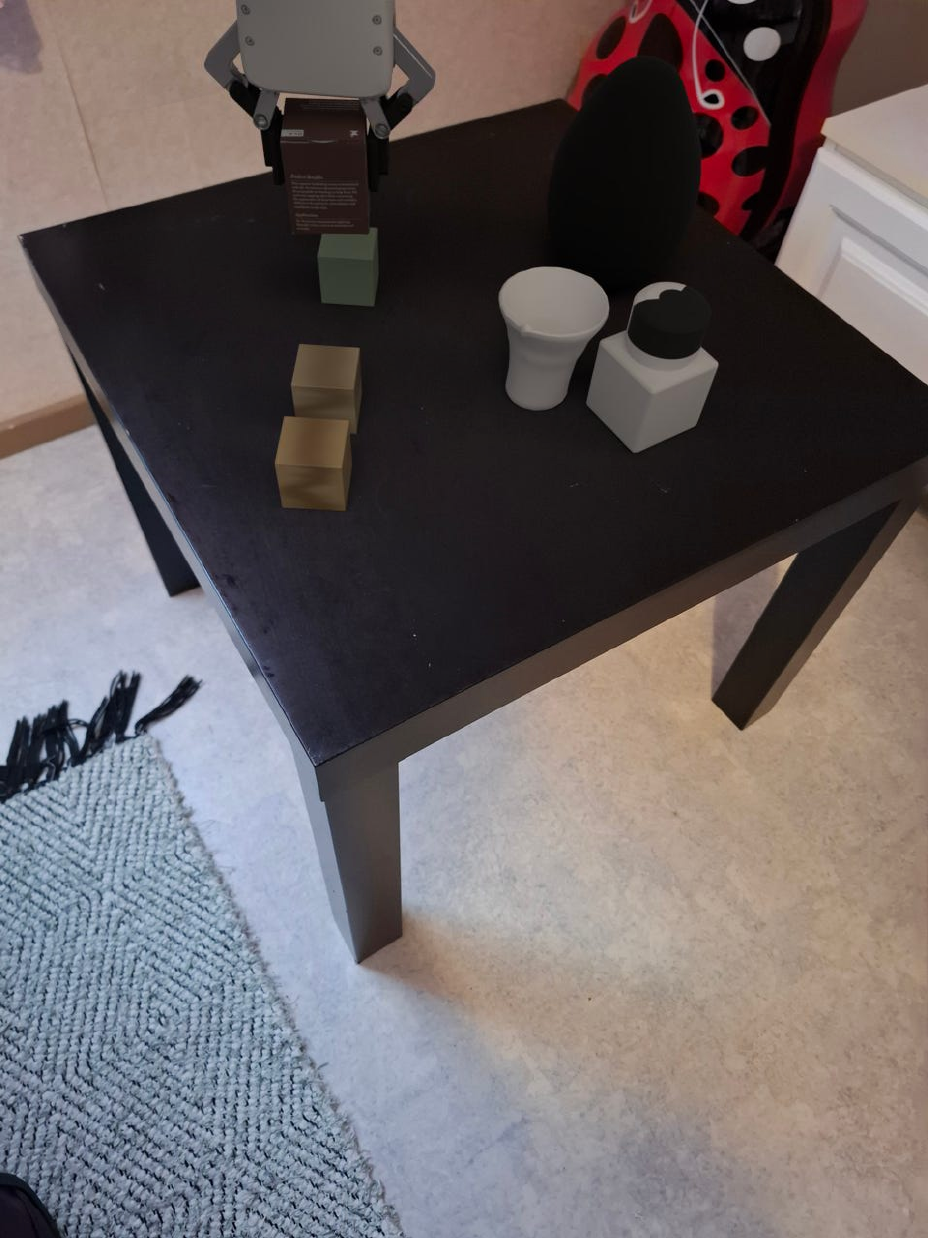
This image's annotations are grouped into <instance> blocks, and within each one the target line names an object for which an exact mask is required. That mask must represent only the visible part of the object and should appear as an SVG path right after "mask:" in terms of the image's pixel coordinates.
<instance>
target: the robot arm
mask: <svg viewBox="0 0 928 1238" xmlns="http://www.w3.org/2000/svg"><path fill="white" fill-rule="evenodd" d="M396 7H397V6H396V0H235V9H236V10H235V11H236V20H235V21H234V22H233V23H232V24H231V26H230V27H228V29H227V30H226V31H225V33H223V35H221V37H220V38H219V39H218V40H217V42H216V43H215V44H214V45H213V46H212V47H211V48H210V49H209V51H208V52H207V54H206V57H205V58H204V62H203V68H204V70H205V71H206V72H207V73H208V74H209V75H210V77H212V78H213V80H214V81H216V82H217V83H218V84H219V85H220V86H221V87H222V89H224V90H226V91H227V92H228V93H229V96H230V99H232V100H233V102H235V103H236V104H237V105H238V106H239V108H241V109H242V110H243V111H244V112H245V113H246V114H247V115H248V116H249V117H250V118H251V119H252V123H253V125H254V127H255V128H256V129H258V130H259V133H260V138H261V140H260V141H261V148H262V155H263V162H264V166H265V167H266V168H271V170H272V178H273V179H272V180H273V185H274V186H282V185H283V184H285V177H284V169H283V163H282V155H281V149H280V137H281V131H282V122H283V114H284V113H283V112H282V109H280V107H279V106H278V105H277V104H278V102H279V98H280V95H281V94H293V95H305V96H318V97H330V98H331V97H332V98H342V99H357V100H359V101H360V103H361V105H362V107H363V110H364V112H365V114H366V116H367V122H368V123H369V125H368V130H367V133H368V136H367V163H368V186H369V190H370V193H379V189H380V183H381V176H388V177H389V174H390V135H391V132H392V131H393V130H394V129H395V128H396V127H397V126H398V125H399V124H401V122H402V121H404V119H406V118H407V117H408V116H409V115H410V114H411V113H412V111H413V109H414V108H415V107H416V106H417V105H418V104H420V102H421V101H423V99H424V98H425V97H426V96H428V94H430V93H431V92H432V90H433V89H434V88H435V85H436V77H437V76H436V75H437V74H436V71H435V69H434V68H433V67H432V66H431V65H430V64H429V63H428V61H427V60H426V59H425V58H424V57H423V55H422V54H421V53H420V52H419V51H418V50H417V49H416V48H415V47H414V46H413V45H412V43H411V42H410V41H409V40H408V39H407V38H406V36H404V34H403V33H402V32H401V31H400V29H398V27H397V10H396ZM239 55H240V61H241V66H242V70H243V72H240V70H239V68H238V67H237V66H236V65H235V63H234V60H235V59H236V58H237V57H238V56H239ZM396 66H397V67H398V68H399V69H400V70H401V71H402V73H404V75H406V77H407V78H408V80H406V81H405V84H404V85H402V86H400V87H399V88H397V90H396V91H395V92H393V94H392V95H390V96H388V93H389V92H390V90H391V87H392V83H393V82H392V81H393V73H394V69H395V68H396Z"/></svg>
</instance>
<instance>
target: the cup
mask: <svg viewBox="0 0 928 1238" xmlns="http://www.w3.org/2000/svg"><path fill="white" fill-rule="evenodd" d="M497 300H498V305H499V310H500V313H501V315H502V318H503V320H504V322H505V325H506V329H507V338H508V342H509V343H508V344H509V360H508V361H509V362H508V369H507V375H506V379H505V384H504V387H505V392H506V394H507V396H508V397H509V399H510V400H511V401H512V402H513V403H514V404H515V405H517V406H518V407H520V408H522V409H525V410H529V411H533V412H535V411H537V412H538V411H547V410H551V409H553V408H555V407H556V406H558V405H559V404H561V403H562V402H563V401H564V400H565V398H566V397H567V395H568V389H569V385H570V381H571V378H572V375H573V372H574V369H575V367H576V364H577V361H578V359H579V358H580V356H581V355H582V353H583V352H584V350H585V349H586V347H587V345H588V343H589V341H591V340H592V338H593V337H594V336H596V335H597V333H598V332H600V330H602V328H603V327H604V326H605V324H606V322H607V321H608V318H609V312H610V303H609V298H608V295H607V294H606V292H605V290H604V289H603V288H602V287H601V286H600V285H599V284H598V283H597V282H595V281H594V280H593V279H592V278H591V277H588V276H586V275H583V274H581V273H578V272H576V271H573V270H570V269H567V268H566V267H559V266H537V267H532V268H529V269H526V270H521V271H519V272H517V273H515V274H514V275H512V276H510V277H509V278H508V279H506V281H505V282H504V283H503V284H502V286H501V288H500V290H499V292H498V298H497Z"/></svg>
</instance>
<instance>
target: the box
mask: <svg viewBox="0 0 928 1238" xmlns="http://www.w3.org/2000/svg"><path fill="white" fill-rule="evenodd" d="M282 114H283V122H282V131H281V137H280V149H281V155H282V163H283V169H284V177H285V183H284V184H285V191H286V199H287V208H288V216H289V223H290V229H291V233H292V235H322V234H365V235H368V234H369V232H370V228H371V190H369V186H368V163H367V136H368V119H367V116H366V114H365V112H364V110H363V107H362V105H361V103H360V101H359V99H349V98H315V97H314V98H313V97H312V98H310V97H285V100H284V106H283V113H282Z"/></svg>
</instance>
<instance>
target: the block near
mask: <svg viewBox="0 0 928 1238" xmlns="http://www.w3.org/2000/svg"><path fill="white" fill-rule="evenodd" d="M280 430H281V431H280V436H279V439H278V444H277V450H276V455H275V459H274V467H275V474H276V479H277V486H278V490H279V494H280V495H279V497H280V501H281V507H282V508H286V509H299V510H300V509H301V510H302V509H303V510H316V511H317V510H319V511H333V512H335V511H336V512H346V511H347V505H348V497H349V490H350V485H351V477H352V469H353V457H352V445H351V444H352V443H351V434H350V428H349V421H348V420H334V419H319V418H303V417H295V416H289V415H288V416H286V415H284V416H283V421H282V426H281V429H280Z"/></svg>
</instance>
